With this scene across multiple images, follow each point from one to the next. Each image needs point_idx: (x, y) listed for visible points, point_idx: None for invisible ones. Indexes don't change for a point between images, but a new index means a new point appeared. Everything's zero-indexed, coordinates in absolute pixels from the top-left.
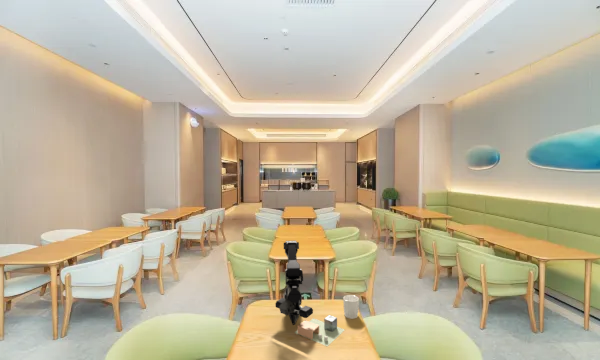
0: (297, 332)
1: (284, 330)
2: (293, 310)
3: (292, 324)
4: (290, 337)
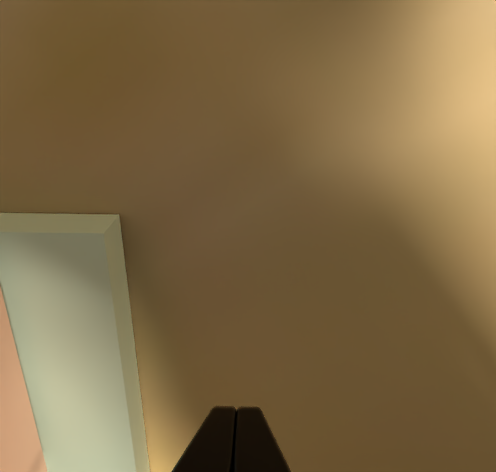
0: (51, 278)
1: (407, 223)
2: None
3: (257, 412)
4: (106, 74)
